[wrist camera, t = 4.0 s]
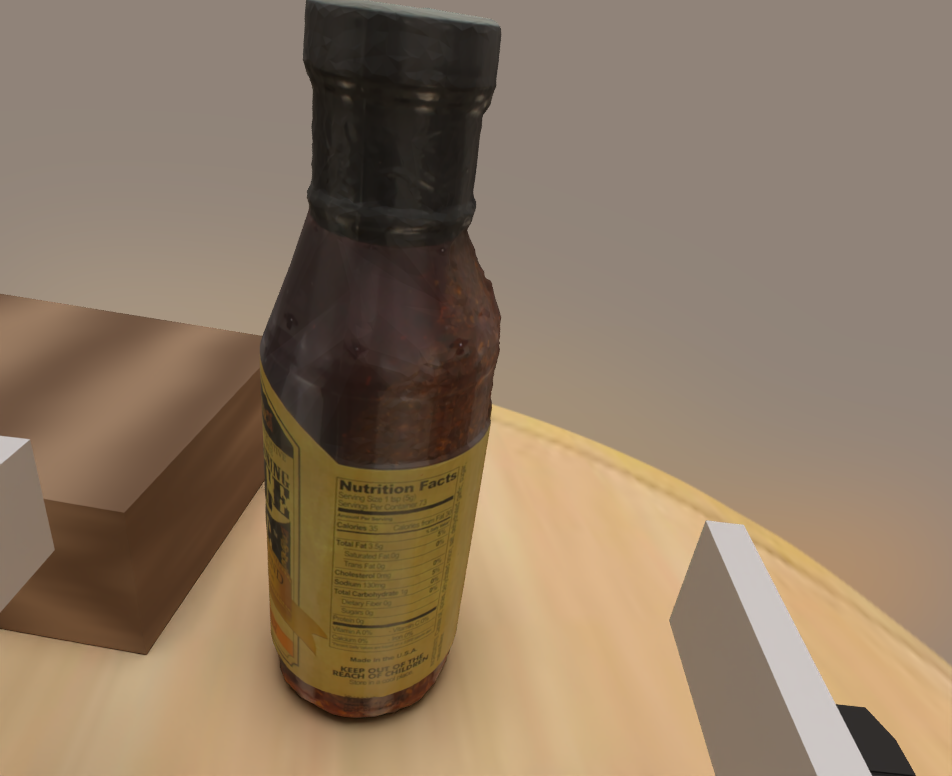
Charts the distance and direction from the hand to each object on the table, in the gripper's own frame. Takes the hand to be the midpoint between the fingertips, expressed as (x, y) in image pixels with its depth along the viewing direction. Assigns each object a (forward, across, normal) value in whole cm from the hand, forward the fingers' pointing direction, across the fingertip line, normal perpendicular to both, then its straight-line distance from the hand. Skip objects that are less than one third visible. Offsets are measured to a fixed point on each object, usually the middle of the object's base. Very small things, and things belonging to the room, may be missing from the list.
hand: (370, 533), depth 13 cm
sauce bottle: (+6, -1, -11) cm, 12 cm away
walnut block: (+12, -14, -10) cm, 21 cm away
